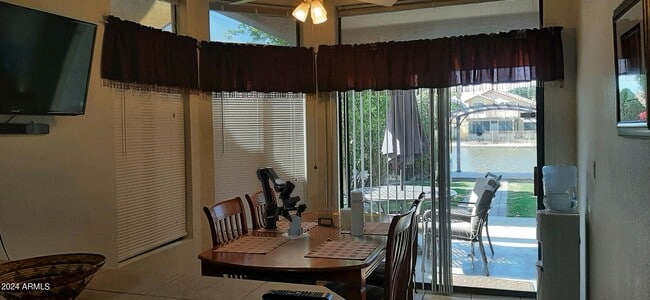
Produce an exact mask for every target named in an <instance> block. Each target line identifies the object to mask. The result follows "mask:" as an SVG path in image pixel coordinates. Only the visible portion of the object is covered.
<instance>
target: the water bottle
mask: <svg viewBox="0 0 650 300" xmlns="http://www.w3.org/2000/svg"><path fill="white" fill-rule="evenodd" d="M350 208H351V229H350V230H351V232H350V233H351V235H352V236H354V237H362V236H363V235H364V233H365V231H364V228H366V227H367V225H364V224H365V222H367V216H366V210H365V200H364V194H363V191H357V190H356V191H350Z"/></svg>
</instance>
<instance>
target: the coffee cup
mask: <svg viewBox="0 0 650 300" xmlns="http://www.w3.org/2000/svg"><path fill="white" fill-rule="evenodd" d="M339 211H340V212H339V214H340V216H339V217H340V224H341V226H340V227H341V229H342V230H351V207H342V208H340V209H339Z"/></svg>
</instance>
